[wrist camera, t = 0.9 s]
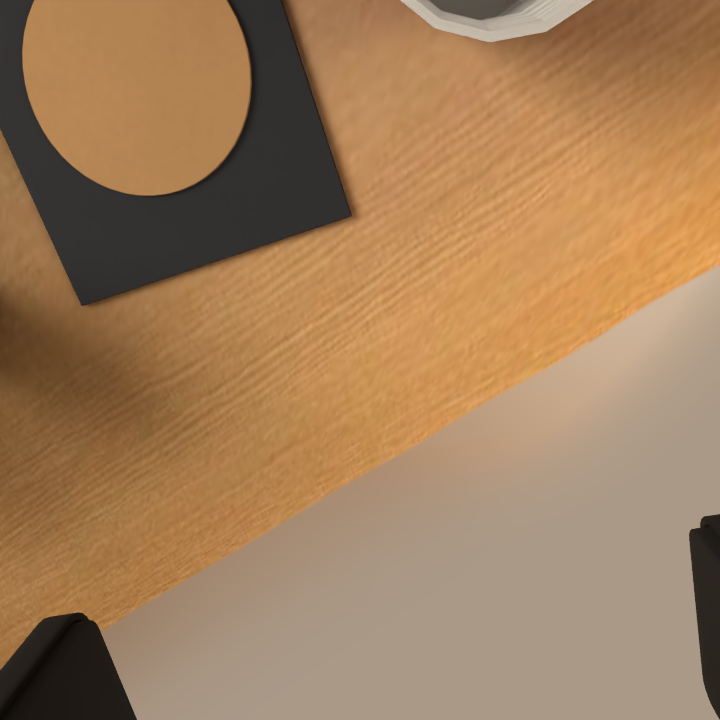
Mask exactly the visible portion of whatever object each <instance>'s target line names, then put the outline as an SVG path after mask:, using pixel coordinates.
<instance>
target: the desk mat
mask: <svg viewBox="0 0 720 720" xmlns="http://www.w3.org/2000/svg"><path fill="white" fill-rule="evenodd" d="M0 129H1V131H2V133H3V135H4V137H5V140H6V142H7V144H8V146H9V148H10V150H11V153H12V155H13V157H14V159H15V161H16V164H17V166H18V168H19V170H20V172H21V175H22V177H23V179H24V181H25V183H26V185H27V188H28V190H29V192H30V194H31V196H32V199H33V201H34V203H35V205H36V207H37V209H38V212H39V214H40V216H41V218H42V220H43V223H44V225H45V227H46V229H47V231H48V233H49V236H50V238H51V240H52V242H53V244H54V247H55V249H56V251H57V253H58V255H59V257H60V260H61V262H62V264H63V266H64V268H65V271H66V273H67V275H68V277H69V279H70V281H71V284H72V286H73V288H74V290H75V292H76V295H77V297H78V299H79V301H80V303H81V305H82V306H84V305H87V304H90V303H93V302H96V301H99V300H102V299H105V298H108V297H111V296H114V295H117V294H120V293H123V292H126V291H129V290H132V289H135V288H138V287H141V286H144V285H147V284H150V283H153V282H156V281H159V280H162V279H165V278H168V277H171V276H174V275H177V274H180V273H183V272H186V271H189V270H191V269H194V268H197V267H200V266H203V265H206V264H209V263H212V262H215V261H218V260H221V259H224V258H227V257H230V256H233V255H236V254H239V253H242V252H245V251H248V250H251V249H254V248H257V247H260V246H263V245H266V244H269V243H272V242H275V241H278V240H281V239H284V238H287V237H290V236H293V235H296V234H299V233H302V232H305V231H308V230H311V229H314V228H317V227H320V226H323V225H326V224H329V223H332V222H335V221H338V220H341V219H344V218H347V217H350V216H351V212H350V209H349V206H348V202H347V199H346V196H345V193H344V190H343V187H342V184H341V181H340V178H339V175H338V172H337V169H336V166H335V163H334V159H333V156H332V153H331V150H330V147H329V144H328V141H327V138H326V135H325V132H324V129H323V126H322V123H321V119H320V116H319V113H318V110H317V107H316V104H315V101H314V98H313V95H312V92H311V89H310V86H309V83H308V79H307V76H306V73H305V70H304V67H303V64H302V61H301V58H300V55H299V52H298V49H297V46H296V43H295V40H294V36H293V33H292V30H291V27H290V24H289V21H288V18H287V15H286V12H285V9H284V6H283V3H282V0H0Z"/></svg>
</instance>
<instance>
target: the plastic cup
mask: <svg viewBox="0 0 720 720" xmlns="http://www.w3.org/2000/svg"><path fill="white" fill-rule="evenodd" d="M401 1H402V2H403V3H404V4H405V5H407V6H408V7H409V8H410V9H412V10H413V11H414V12H415V13H417V14H418V15H419V16H420V17H421V18H423V19H424V20H425V21H426V22H428V23H429V24H430V25H431V26H433V27H434V28H435V29H439V30H443V31H447V32H451V33H455V34H459V35H463V36H467V37H471V38H474V39H478V40H482V41H486V42H494V41H500V40H505V39H510V38H515V37H521V36H526V35H531V34H537V33H542V32H547V31H548V30H550V29H551V28H553V27H554V26H556V25H557V24H559V23H560V22H562V21H563V20H565V19H566V18H568V17H569V16H571V15H572V14H574V13H575V12H577V11H578V10H580V9H581V8H583V7H584V6H586V5H587V4H589V3H590V2H592V1H593V0H401Z"/></svg>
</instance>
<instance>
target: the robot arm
mask: <svg viewBox="0 0 720 720" xmlns="http://www.w3.org/2000/svg"><path fill="white" fill-rule="evenodd" d="M689 541H690V551H691V561H692V571H693V582H694V592H695V602H696V612H697V623H698V633H699V643H700V654H701V664H702V675H703V681H704V685H705V689H706V692H707V694H708V697H709V700H710V702H711V705H712V707H713V708H714V710H715V712H716V714H717V716H718V717H719V719H720V514H718V515H712V516H705V517H703V518H702V519H701V523H700V528H696V529H692V530H690V533H689ZM0 720H137V719H136V717H135V714H134V712H133V709H132V707H131V705H130V702H129V700H128V697H127V695H126V692H125V690H124V688H123V685H122V683H121V680H120V678H119V676H118V673H117V671H116V668H115V666H114V663H113V661H112V659H111V656H110V654H109V652H108V649H107V647H106V644H105V642H104V639H103V637H102V635H101V632H100V630H99V627H98V626H97V624H96V623H95V622H94V621H91V620H89V619H88V618H87V616H85V615H84V614H83V613H72V614H66V615H59V616H53V617H48V618H45V619H43V620H42V621H41V622H40V623H39V624H38V625H37V626H36V627H35V629H34V630H33V631H32V632H31V634H30V635H29V636H28V637H27V638H26V640H25V641H24V642H23V643H22V645H21V646H20V647H19V648H18V649H17V651H16V652H15V653H14V654H13V656H12V657H11V658H10V659H9V661H8V662H7V663H6V664H5V665H4V667H3V668H2V669H1V670H0Z"/></svg>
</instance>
